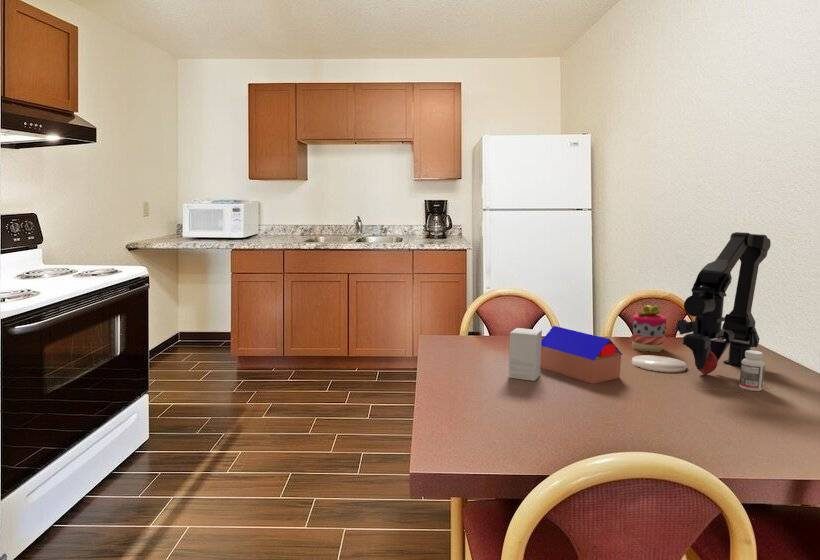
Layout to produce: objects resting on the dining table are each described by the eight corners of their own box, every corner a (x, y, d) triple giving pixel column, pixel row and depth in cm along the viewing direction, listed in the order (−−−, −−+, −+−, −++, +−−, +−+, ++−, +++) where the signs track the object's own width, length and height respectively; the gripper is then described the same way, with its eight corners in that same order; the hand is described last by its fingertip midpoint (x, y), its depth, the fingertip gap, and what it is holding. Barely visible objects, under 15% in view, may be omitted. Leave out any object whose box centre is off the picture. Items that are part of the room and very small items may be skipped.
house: (565, 362, 183) (567, 323, 182) (621, 378, 167) (624, 336, 165) (537, 367, 177) (539, 327, 175) (592, 385, 160) (594, 341, 159)
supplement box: (540, 375, 168) (543, 329, 166) (534, 381, 161) (536, 334, 159) (514, 371, 171) (516, 327, 169) (507, 377, 164) (509, 331, 162)
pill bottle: (747, 384, 164) (751, 348, 162) (767, 390, 159) (770, 353, 158) (734, 386, 161) (737, 350, 160) (753, 392, 156) (757, 355, 155)
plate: (648, 356, 192) (648, 352, 191) (695, 367, 180) (696, 363, 180) (622, 363, 182) (622, 359, 182) (669, 375, 171) (670, 371, 171)
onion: (719, 378, 169) (721, 350, 168) (696, 376, 170) (699, 348, 169) (713, 372, 174) (715, 345, 173) (691, 371, 175) (693, 344, 174)
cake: (625, 344, 208) (628, 301, 206) (654, 344, 209) (657, 301, 207) (639, 352, 197) (643, 306, 196) (670, 352, 199) (674, 306, 197)
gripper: (698, 306, 182) (694, 357, 184) (666, 311, 171) (662, 366, 172) (737, 311, 174) (732, 365, 176) (706, 318, 162) (701, 375, 164)
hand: (706, 367), depth 172 cm, fingers open, 8 cm apart
